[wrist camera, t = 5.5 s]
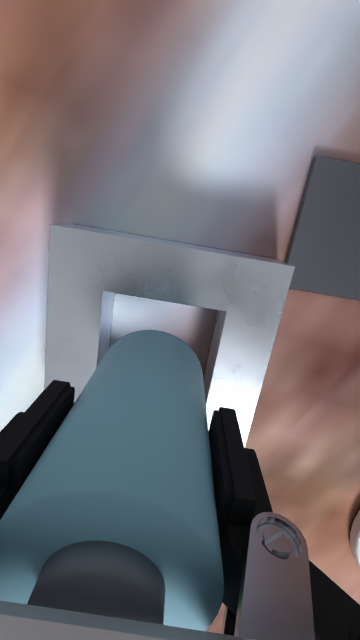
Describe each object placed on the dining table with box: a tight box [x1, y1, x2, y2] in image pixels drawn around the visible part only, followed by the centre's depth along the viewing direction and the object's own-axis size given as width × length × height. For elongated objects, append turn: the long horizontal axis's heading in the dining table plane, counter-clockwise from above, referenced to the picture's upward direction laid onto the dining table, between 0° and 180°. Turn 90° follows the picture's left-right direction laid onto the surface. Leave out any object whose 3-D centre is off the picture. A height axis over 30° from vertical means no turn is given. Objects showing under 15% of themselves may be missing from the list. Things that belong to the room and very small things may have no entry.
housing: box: [44, 224, 295, 447], centre depth 18 cm, size 12×12×3 cm
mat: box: [286, 156, 360, 300], centre depth 17 cm, size 7×7×1 cm
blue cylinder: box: [0, 330, 224, 631], centre depth 10 cm, size 5×5×10 cm
